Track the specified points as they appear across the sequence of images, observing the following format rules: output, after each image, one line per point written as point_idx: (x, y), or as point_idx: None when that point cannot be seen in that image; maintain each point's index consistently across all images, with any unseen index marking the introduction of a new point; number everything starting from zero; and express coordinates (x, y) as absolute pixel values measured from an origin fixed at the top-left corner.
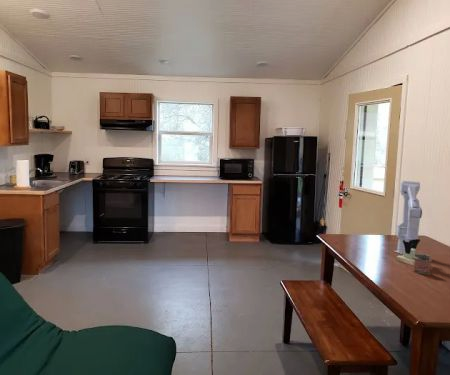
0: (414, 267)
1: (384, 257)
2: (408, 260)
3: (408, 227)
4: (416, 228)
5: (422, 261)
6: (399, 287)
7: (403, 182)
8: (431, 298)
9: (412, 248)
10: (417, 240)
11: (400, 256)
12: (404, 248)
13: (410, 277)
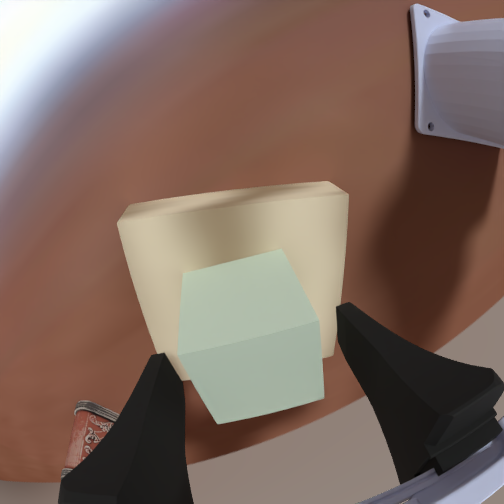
0: (72, 429)
1: (90, 80)
2: (156, 345)
3: None
4: None
5: None
6: None
7: None
8: (15, 468)
9: (318, 375)
10: (404, 479)
11: (164, 247)
12: (181, 355)
13: (21, 419)
